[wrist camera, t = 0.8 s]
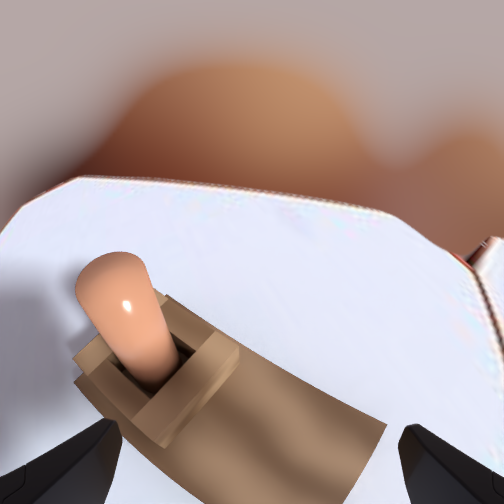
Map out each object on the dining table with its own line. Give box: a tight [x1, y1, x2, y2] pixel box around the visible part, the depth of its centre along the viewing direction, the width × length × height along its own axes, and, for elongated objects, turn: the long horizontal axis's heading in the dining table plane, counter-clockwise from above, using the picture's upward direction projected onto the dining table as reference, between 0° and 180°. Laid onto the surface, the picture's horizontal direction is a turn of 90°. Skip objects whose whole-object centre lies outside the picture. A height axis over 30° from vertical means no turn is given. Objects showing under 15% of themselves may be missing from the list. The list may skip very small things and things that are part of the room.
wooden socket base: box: [73, 288, 387, 504], centre depth 20 cm, size 12×22×4 cm, turn 55°
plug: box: [75, 252, 183, 394], centre depth 18 cm, size 4×4×11 cm
